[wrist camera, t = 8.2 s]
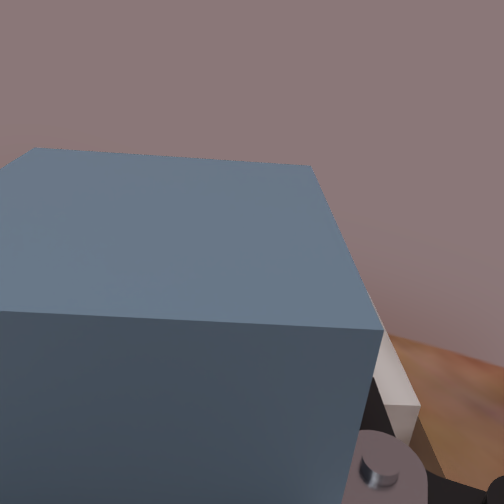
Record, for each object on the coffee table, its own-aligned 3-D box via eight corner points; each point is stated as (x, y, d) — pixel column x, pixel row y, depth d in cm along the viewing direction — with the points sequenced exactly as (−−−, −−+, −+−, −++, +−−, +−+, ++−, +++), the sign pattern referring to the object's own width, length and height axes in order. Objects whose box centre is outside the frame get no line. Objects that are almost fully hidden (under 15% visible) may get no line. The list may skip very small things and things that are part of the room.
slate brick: (1, 764, 8) (-213, 299, 4) (86, 504, 13) (34, 147, 8) (276, 766, 9) (383, 330, 4) (265, 509, 13) (311, 166, 8)
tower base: (142, 575, 20) (132, 446, 17) (181, 363, 33) (179, 264, 29) (454, 580, 21) (509, 457, 17) (375, 370, 33) (397, 274, 30)
